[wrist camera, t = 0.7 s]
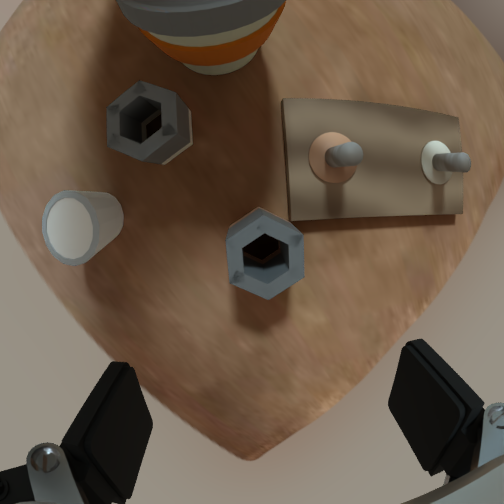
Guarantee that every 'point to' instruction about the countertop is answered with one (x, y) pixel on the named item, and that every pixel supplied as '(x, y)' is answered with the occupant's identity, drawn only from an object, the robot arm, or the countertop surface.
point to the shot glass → (80, 224)
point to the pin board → (370, 160)
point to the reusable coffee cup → (206, 29)
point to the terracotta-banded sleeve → (273, 266)
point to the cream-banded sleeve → (143, 112)
